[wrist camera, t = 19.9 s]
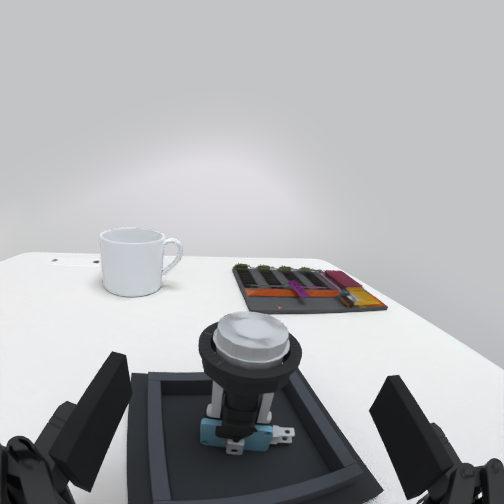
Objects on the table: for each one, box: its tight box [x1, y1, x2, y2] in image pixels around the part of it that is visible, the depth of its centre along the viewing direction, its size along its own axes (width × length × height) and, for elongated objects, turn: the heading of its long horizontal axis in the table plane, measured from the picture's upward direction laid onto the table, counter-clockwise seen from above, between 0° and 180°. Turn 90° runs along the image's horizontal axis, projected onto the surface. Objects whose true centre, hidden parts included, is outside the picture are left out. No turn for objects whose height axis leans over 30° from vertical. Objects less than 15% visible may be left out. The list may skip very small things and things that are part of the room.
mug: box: [100, 228, 183, 297], centre depth 40 cm, size 13×10×8 cm
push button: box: [199, 311, 302, 455], centre depth 14 cm, size 7×5×10 cm
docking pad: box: [127, 368, 384, 504], centre depth 16 cm, size 16×16×3 cm
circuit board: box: [232, 263, 388, 314], centre depth 48 cm, size 25×18×3 cm
